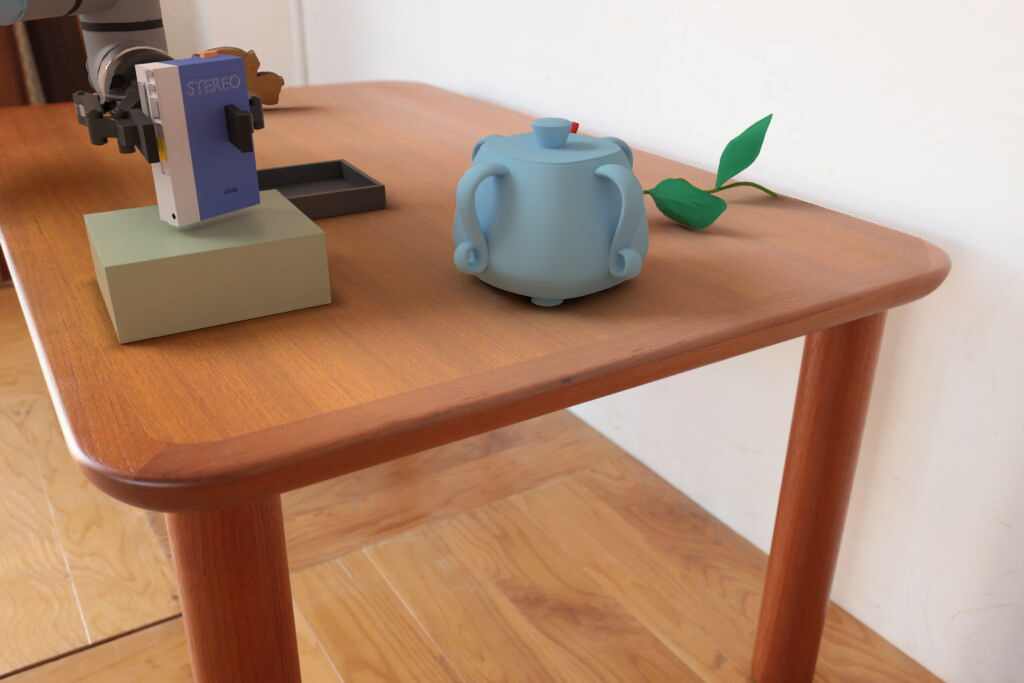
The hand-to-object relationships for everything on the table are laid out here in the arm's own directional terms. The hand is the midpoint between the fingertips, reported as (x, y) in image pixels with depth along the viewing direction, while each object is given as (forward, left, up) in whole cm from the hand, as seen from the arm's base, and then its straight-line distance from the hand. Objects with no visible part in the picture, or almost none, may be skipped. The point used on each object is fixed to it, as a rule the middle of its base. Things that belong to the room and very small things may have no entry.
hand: (199, 138), depth 64 cm
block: (-5, 0, -14) cm, 15 cm away
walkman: (-5, +1, -7) cm, 9 cm away
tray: (-27, +15, -14) cm, 34 cm away
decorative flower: (-3, +46, -14) cm, 48 cm away
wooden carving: (-82, +20, -14) cm, 86 cm away
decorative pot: (+6, +26, -14) cm, 30 cm away
